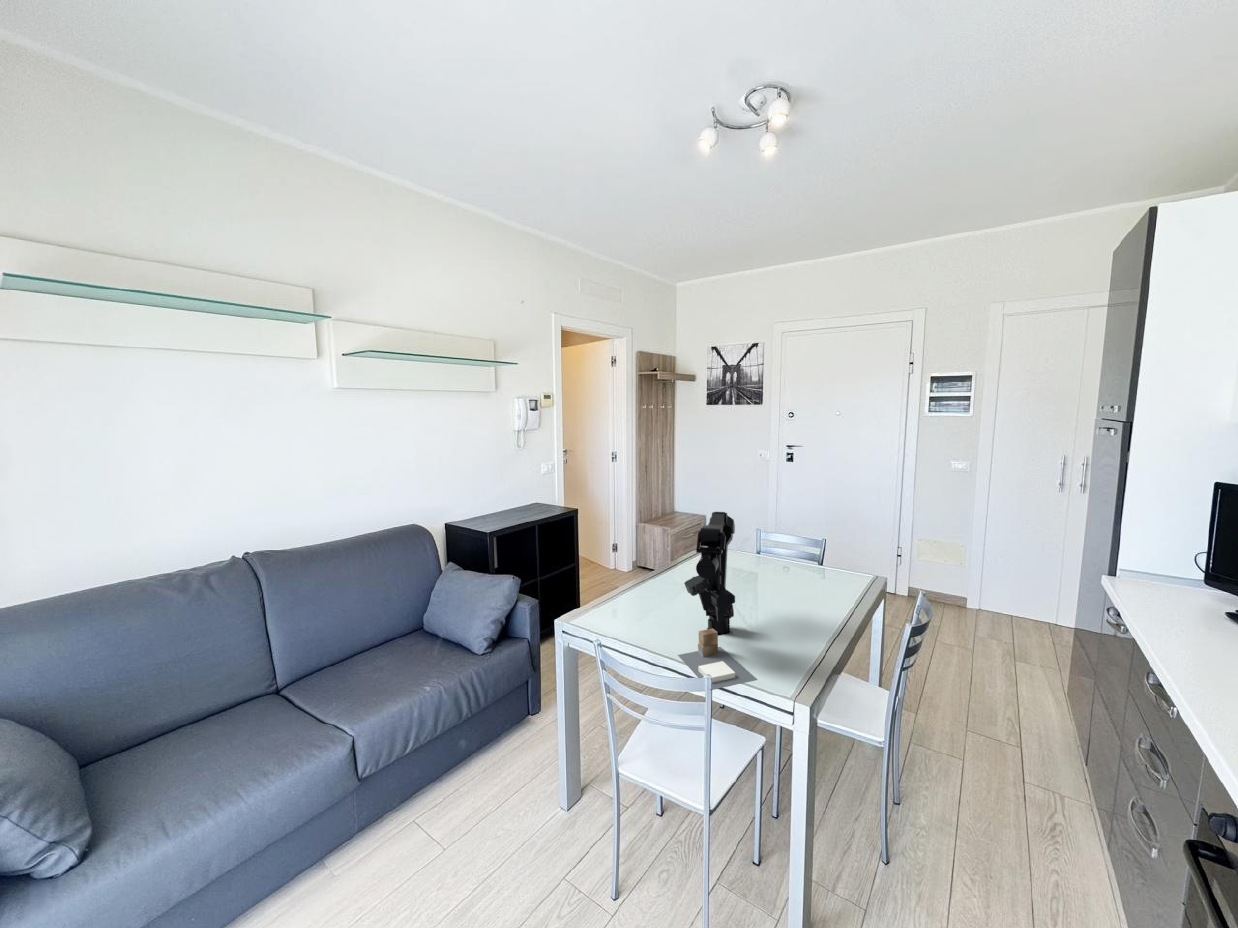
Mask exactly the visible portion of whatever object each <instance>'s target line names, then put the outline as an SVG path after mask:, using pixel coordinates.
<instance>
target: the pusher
mask: <svg viewBox="0 0 1238 928" xmlns="http://www.w3.org/2000/svg"><path fill="white" fill-rule="evenodd" d="M718 638H719V636H718V632H717V631H715V630H714V629H713V628H712V629H707V628H706V629H703V630H698V643H697V651H698V653H699V654H700V655H701V656H702V657H705V656H710V655H715V654H718V647H719V639H718Z"/></svg>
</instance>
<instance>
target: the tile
mask: <svg viewBox="0 0 1238 928" xmlns="http://www.w3.org/2000/svg"><path fill="white" fill-rule="evenodd" d="M698 671H699V672H700V673H701V674H702V675H703V676H705V675H706V674H710V675H711V676H712V683H713V682H718V681H722V680H727V679H732V678H735V672H734V671H733V670H732V669H731V668H730V667H729V666H727V665H726V664H725V663H724V662H723V661H721V662H716V663H711V664H706V665H701V666H698Z"/></svg>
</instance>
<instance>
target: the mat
mask: <svg viewBox="0 0 1238 928" xmlns="http://www.w3.org/2000/svg"><path fill="white" fill-rule="evenodd" d="M677 656H678V657H679V659H681V660H682V662H683V663H684V664H685V665H686V666H687V667H688V669H690V671H692V673H693V674H694V675H695V676H696V677H697V678H698V679H699V678H703V677H704V676H703V675H702V674H701V673H700V672H699V671H698V666H701V665H706V664H711V663H716V662H721V661H723V662H724V663H725V664H726V665H727V666H729V667H730V668H731V669H732V670H733V671H734V672H735V678H732V679H727V680H722V681H718V682H713V683H712V690H711V691H713V690H718V689H722V688H727V687H731V686H735V685H741V684H744V683H750V682H753V681H758V678H756V677H755V676H754V675H753V674H752V673H751V672H750V671H749V670H748V669H746V667H744V666H743V665H742V664H741V663H739V661H737V660H736V658H734V657H733V656H732V655H731V654H730V653H728V652H727V651H726V650H725V649H724V648H723V647H722V646H718V654H715V655H710V656H705V657H702V656H701V655H700V654H699V653H698V650H696V651H691V652H686V653H682V654H677Z"/></svg>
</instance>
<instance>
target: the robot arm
mask: <svg viewBox="0 0 1238 928" xmlns="http://www.w3.org/2000/svg"><path fill="white" fill-rule="evenodd" d="M735 530H736V525H735V520H734V519H733V518H732V517H730V516H729V515H728V512H725V511H714V512H713V511H712V513H711V517H710V518H709V522H708V524H707V525H703V526H702V527H701V528H700V530H698V532H697V540H696V541H697V542H696V551H695V553H698V554H699V553H700V555H701V556H700V558H699V560H698V562H697V564H696V566H695V570H696V573H697V575H696V576H692V577H691V578H689V579H688V580H686V581H685V582H684V587H685V589H686V591H687V594H690V595H691V596H692V597H695V596H697V595H698V597H699V599H700V602H701V606H702V609H703V611H705V616H706V617H708V618H707V627H706V630H707V629H712V628H713V629H714V630H715V631H717V632H718V637H719V636H723V635H729V634H733V631H731V630H730V629H731V628H730V627H731V625H730V624H731V622H730V621H731V620H730V619H732V618H733V617H734V616H735V613H734V612H735V611H734V605H733V604H735V603H736V595H734V594H733V593H732V592H731V591H729V590H728V589H727V588H726V586H727V583H726V582H727V566H728V547H729V545H730V543H731V542H732V541H733V538H734V536H733V535H735V532H736V531H735Z"/></svg>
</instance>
